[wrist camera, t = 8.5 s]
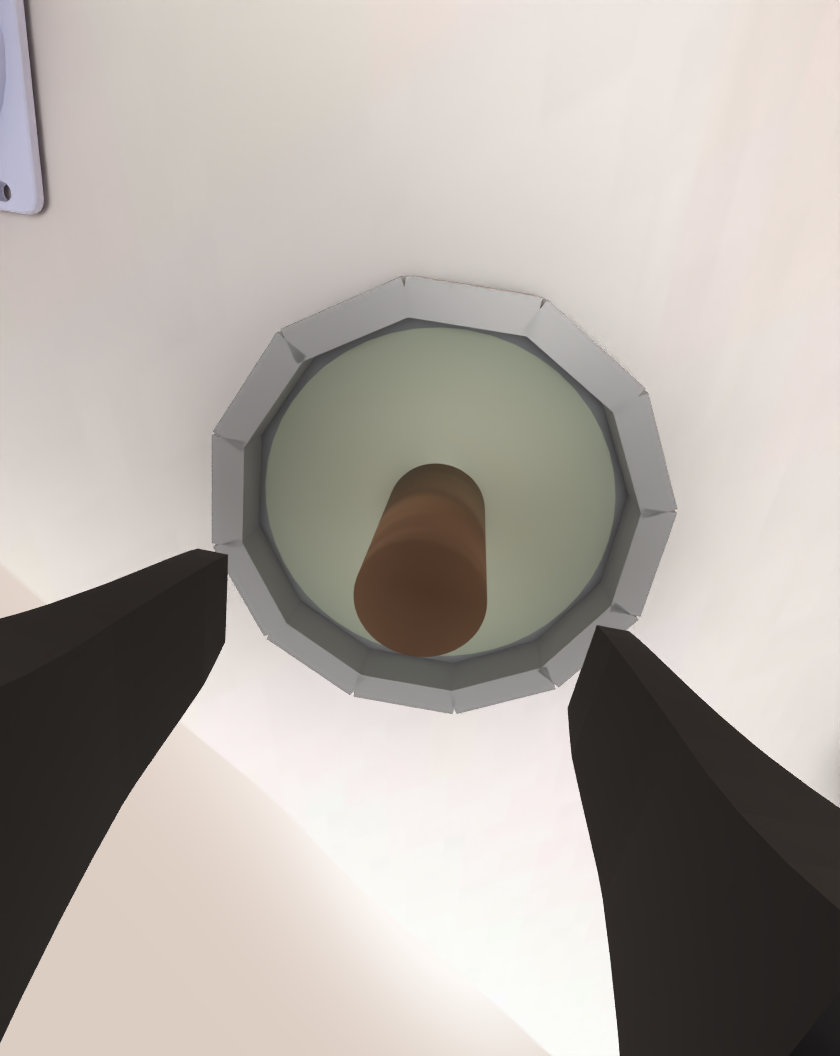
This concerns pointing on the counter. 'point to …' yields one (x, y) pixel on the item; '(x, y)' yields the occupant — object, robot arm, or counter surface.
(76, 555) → the counter surface
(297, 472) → the round tray
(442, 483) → the walnut cylinder
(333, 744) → the counter surface
